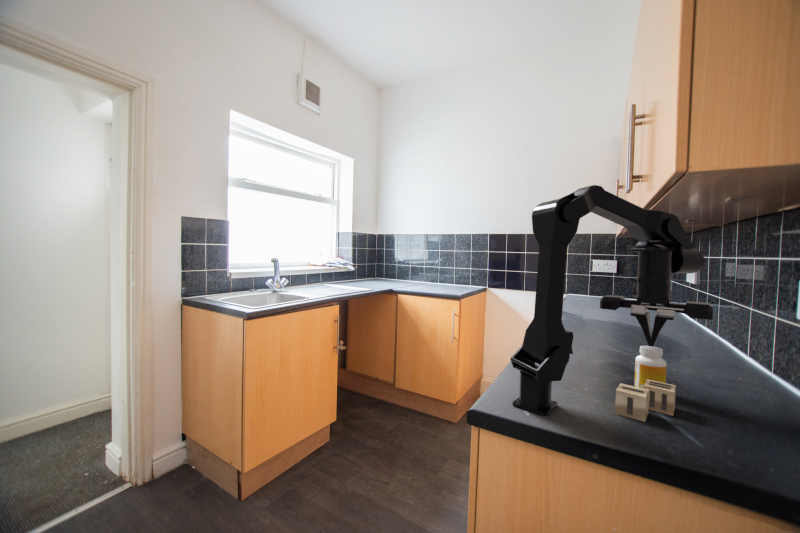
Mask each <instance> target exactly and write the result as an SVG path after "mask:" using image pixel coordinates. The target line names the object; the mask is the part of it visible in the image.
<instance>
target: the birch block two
mask: <svg viewBox="0 0 800 533" xmlns="http://www.w3.org/2000/svg"><path fill="white" fill-rule="evenodd" d="M676 386H677V385H676V384H671V383H670V384H669V383H667V382H666V383H662V382H657V381H653V380H648V379H647V380H646V382H645V384H644V389H647V390H649V403H648V411H653V412H655V413H656V412H657V413H661V414H665V415H668V416H674V413H675V408H676V407H675V406H676V390H677V389H676Z"/></svg>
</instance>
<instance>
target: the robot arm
mask: <svg viewBox="0 0 800 533" xmlns="http://www.w3.org/2000/svg"><path fill="white" fill-rule="evenodd" d="M589 213H592V214H594V215H597V216H600V217H602V218H603V219H606V220H607V221H608V220H609V221H610V222H613V223H614V224H617V225H619V226H622V227H623V228H625V230H626V231H627V234H628V235H629V236H630V237H632V238H633V239H635V240H636V241H638V242H637V243H636V244H635V245H634V246H632V247H631V248H630V252H632V253H638V256H637V257H638V258H637V278H636V279H637V282H633V285H632V296H633V298H636V299H635V300H634V299H626V297H625V296H624V295H616V294H615V295H611V294H607V295H604V296H602V297H601V298H600V301H599V309H602V310H611V311H617V310H618V309H619V308H626V309H630V311H631V312H630V313H629V315H630V316H632V317H635V318H636V320H637V322H638V324H639V325H640V327H641V330H642V332H643V335H644V338H645V340H646V343H647V346H651V347H653V346H654V347H655V344H656V342H657V340H658V338H659V336H660V332H661V330H662V329H663V327H664V326H665V324H666V322H667V321H674V320H675V317H676V314H677V313H678V314H685V315H687V316H688V317H689V318H690V319H699V320H709V321H712V320H713V319H714V317H713V316H714V307H713V305H712V304H711V303H710V302H705V301H703V302H702V301H690V300H686V304H683V303H672V299H673V298H672V297H673V295H672V294H673V290H672V289H671V288H672V287H671V286H672V274H695V273H698V272H699V271H701V270H702V269H703V267H704V265H705V261H706V259H705V257H704V254H703V253H702V252H701V251H700V250H699V249H697V248H695V245H696V244H695V242H691V241H690V239H689V236H688V235H687V233H686V231H685V229H684V227H683V226H682V223H681V221H680V220H679V217H678V216H677V215H675V213H672V212H668V211H665V210H664V211H663V210H658V209H657V210H654V209H648V208H643V207H641V206H639V205H636V204H634V203H632V202H631V201H628V200H626V199H624V198H621V197H620V196H618V195H615V194H613V193H612V192H610V191H607V190H605V189H604V187H602V186H601V185H597V184H594V185H589V186H584V187H580V188H578V189H576V190H575V191H573V192H571V193H569V194H567V195H564V196H562V197H561V198H558V199H554V200H549V201H548V200H547V201H545V202H541V203H539V204H537V205H536V206H535V207H534V208H533V210H532V214H531V223H532V224H531V225H532V226H531V227H532V233H533V235H534V238H535V241H537V244H538V259H537V260H538V261H537V273H536V283H535V284H536V285H535V298H534V300H535V301H534V314H533V315H534V316H533V319H532V321H531V322H530V324H529V325H528V327H527V328H526V329H525V333H524V336H523V337H524V338H523V340H522V341H523V342H522V344H521V345H520V346H519V348H518V349H517V350H516V351H515V352H514V354H513V355H511V357H510V363H511V366H512V368H513V369H516V370H518V371H519V396H518V398H515V399H514V400H513V401H512V405H513V406H514V407H517V408H521V409H523V410H527V411H531V412H533V413H537V414H539V415H542V416H548V415H549V414H550V413H551V412H552V411H553V410H554V409H555V408H556V407H557V406H558V402H557V401H555V400H552V391H553V390H552V387H553V386H552V385H553V382H561V381H562V379H563V376H564V373H565V371H566V367H567V365H568V364H569V362H570V357H571V355H573V354H574V352H573V342H574V333H573V331H569V330H566V329H565V326H564V323H563V308H564V307H563V306H564V294H565V282H566V269H567V267H566V266H567V256H568V254H567V253H568V247H569V245H570V243H571V241H572V240H573V238H574V237H575V235H576V234H577V232H578V229H579V223H580V219H581V218H583V217H585V216H586V215H588V214H589ZM650 311H655V312H656V313H657V314H656V315H655V316H654V321H653V322H654V323H653V328H652V327H651V325H652V324H651V313H650Z"/></svg>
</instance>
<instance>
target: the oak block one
mask: <svg viewBox="0 0 800 533" xmlns="http://www.w3.org/2000/svg"><path fill="white" fill-rule="evenodd" d="M648 403H649V390H647V389H643V388H639V387H634V385H629V384H625V383H621V382H620V383H619V385H618V386H617V387H616V389H615V402H614V404H615V406H614V407H615V408H614V414H616V415H619V416H621V417H622V416H623V417H626V418H629V419H633V420H637V421H640V422H644V423H646V420H647V417H648V415H649V410H648Z"/></svg>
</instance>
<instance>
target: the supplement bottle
mask: <svg viewBox="0 0 800 533" xmlns="http://www.w3.org/2000/svg"><path fill="white" fill-rule="evenodd" d="M638 351H639V354H638V355H636V357H635V359H634V381H633V382H634V383H633V384H634V385H633V386H634V387H639V388H643V389H644V384H645V382H646V380H647V379H648V380H653V381H657V382H662V383H667V361H666V360H665V359H663V358H662V357H663V355H664V350H663V348H661V347H657V346H655V345H654V346H653V347H651V346H649V345H640V346H639V350H638Z"/></svg>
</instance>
